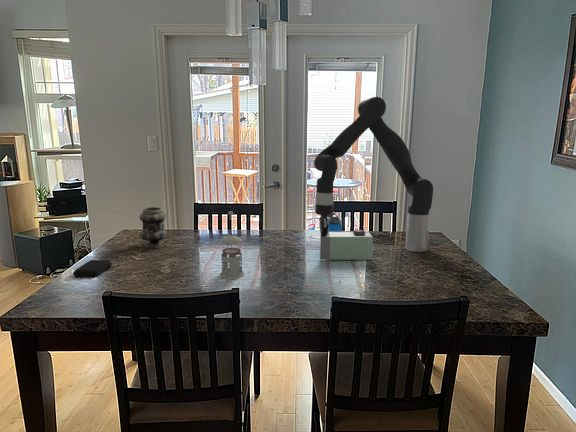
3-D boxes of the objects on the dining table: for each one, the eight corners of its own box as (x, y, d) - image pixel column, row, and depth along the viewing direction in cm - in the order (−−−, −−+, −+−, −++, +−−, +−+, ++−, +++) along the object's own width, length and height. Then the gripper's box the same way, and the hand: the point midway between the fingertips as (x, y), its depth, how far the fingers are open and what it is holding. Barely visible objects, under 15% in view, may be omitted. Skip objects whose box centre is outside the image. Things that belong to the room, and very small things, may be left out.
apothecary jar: (173, 244, 202) (171, 207, 198) (152, 251, 192) (150, 212, 188) (155, 240, 208) (153, 204, 204) (135, 246, 198) (132, 209, 194)
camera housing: (368, 253, 190) (369, 229, 187) (371, 259, 182) (372, 233, 180) (327, 253, 191) (328, 228, 188) (329, 258, 183) (329, 233, 180)
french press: (224, 280, 157) (222, 214, 152) (214, 271, 167) (212, 208, 162) (248, 276, 162) (247, 212, 156) (237, 267, 172) (236, 206, 166)
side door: (371, 258, 182) (372, 236, 180) (371, 259, 181) (373, 236, 179) (320, 258, 181) (320, 236, 179) (320, 259, 180) (320, 236, 178)
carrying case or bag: (99, 279, 159) (116, 266, 173) (98, 271, 158) (115, 259, 172) (71, 278, 159) (90, 265, 173) (70, 271, 158) (89, 258, 173)
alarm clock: (341, 248, 198) (342, 217, 195) (328, 248, 198) (329, 217, 194) (336, 240, 211) (337, 211, 207) (323, 240, 210) (324, 211, 207)
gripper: (335, 205, 172) (333, 246, 176) (331, 199, 185) (329, 238, 189) (316, 205, 172) (315, 246, 176) (314, 199, 185) (313, 237, 189)
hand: (323, 242), depth 182 cm, fingers closed
